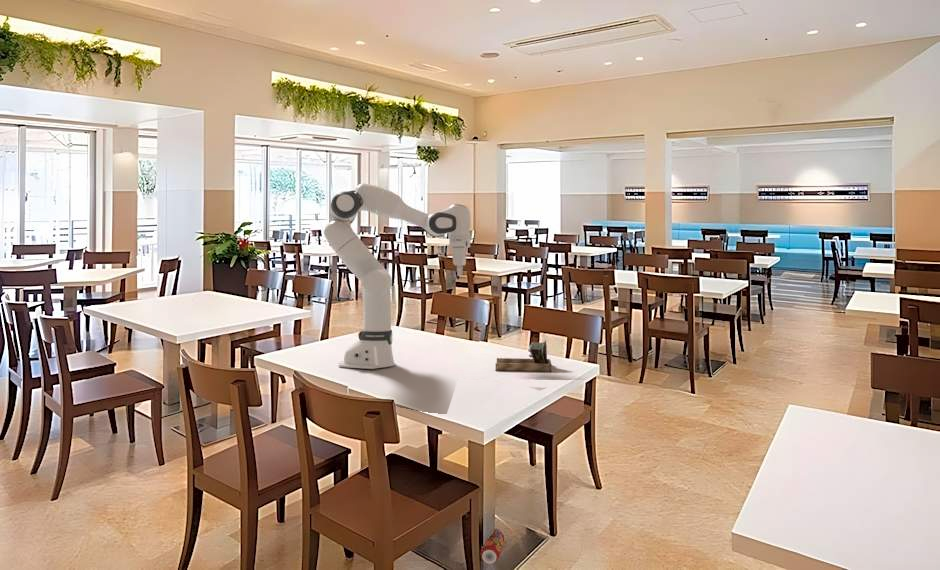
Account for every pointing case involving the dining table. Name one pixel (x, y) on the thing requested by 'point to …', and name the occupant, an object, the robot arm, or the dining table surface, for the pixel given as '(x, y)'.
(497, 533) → the smoothie
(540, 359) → the bell
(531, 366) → the cradle
